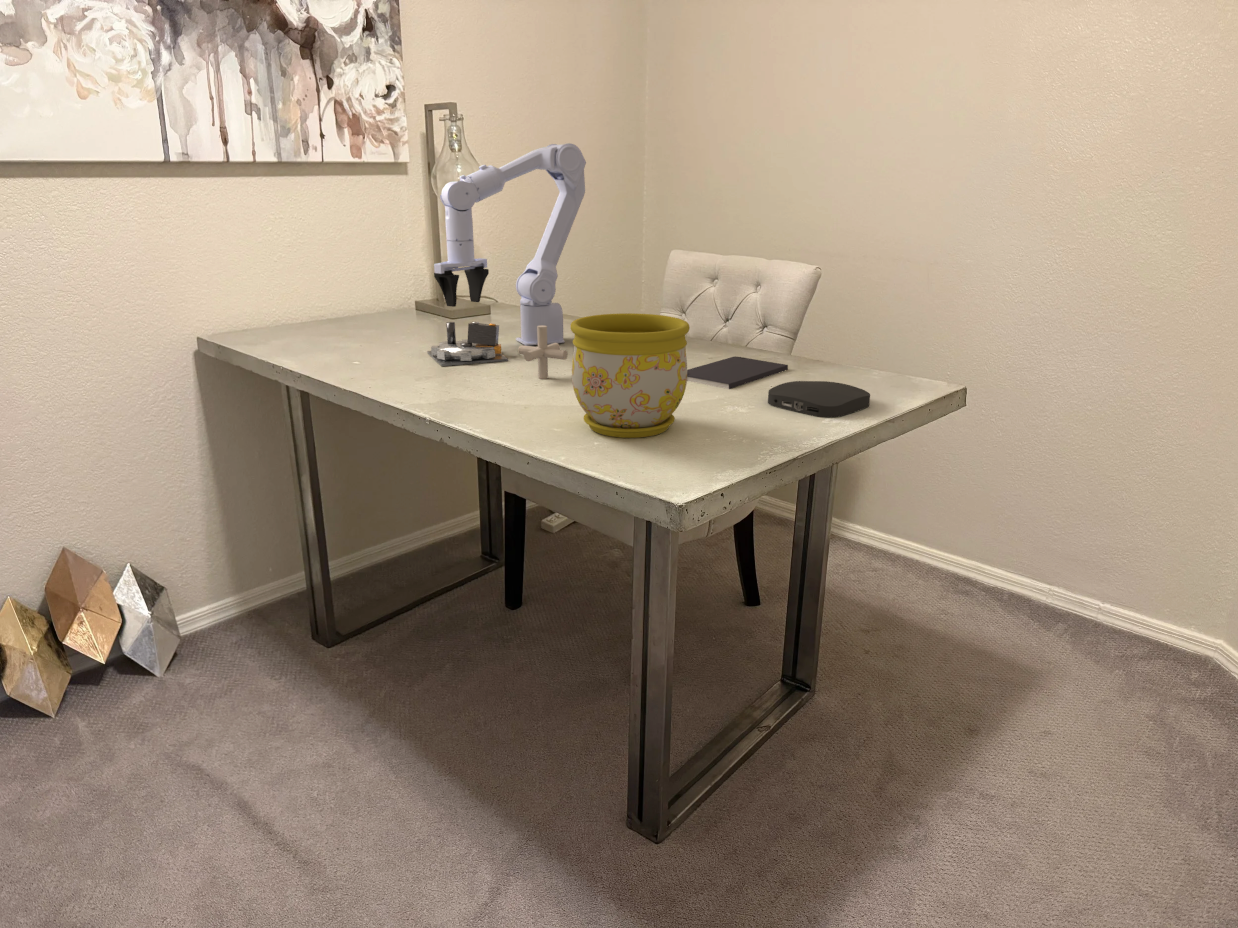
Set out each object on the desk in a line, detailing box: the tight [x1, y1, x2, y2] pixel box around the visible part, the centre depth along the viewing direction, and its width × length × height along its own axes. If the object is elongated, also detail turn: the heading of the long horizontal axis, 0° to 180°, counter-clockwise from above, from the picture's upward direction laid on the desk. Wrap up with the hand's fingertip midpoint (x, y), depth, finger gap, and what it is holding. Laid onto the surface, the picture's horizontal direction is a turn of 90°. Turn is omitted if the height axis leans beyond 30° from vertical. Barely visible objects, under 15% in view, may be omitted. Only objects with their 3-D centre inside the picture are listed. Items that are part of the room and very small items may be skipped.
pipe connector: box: [517, 325, 568, 380], centre depth 162 cm, size 10×10×10 cm
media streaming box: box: [767, 380, 871, 418], centre depth 147 cm, size 15×15×3 cm
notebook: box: [687, 356, 789, 390], centre depth 168 cm, size 13×2×21 cm
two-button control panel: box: [467, 321, 500, 346], centre depth 181 cm, size 6×3×4 cm, turn 86°
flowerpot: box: [569, 312, 690, 439], centre depth 131 cm, size 18×18×16 cm
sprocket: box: [430, 321, 502, 361], centre depth 180 cm, size 15×15×6 cm
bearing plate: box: [426, 350, 509, 367], centre depth 181 cm, size 14×14×1 cm
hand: (463, 304), depth 187 cm, fingers open, 7 cm apart
